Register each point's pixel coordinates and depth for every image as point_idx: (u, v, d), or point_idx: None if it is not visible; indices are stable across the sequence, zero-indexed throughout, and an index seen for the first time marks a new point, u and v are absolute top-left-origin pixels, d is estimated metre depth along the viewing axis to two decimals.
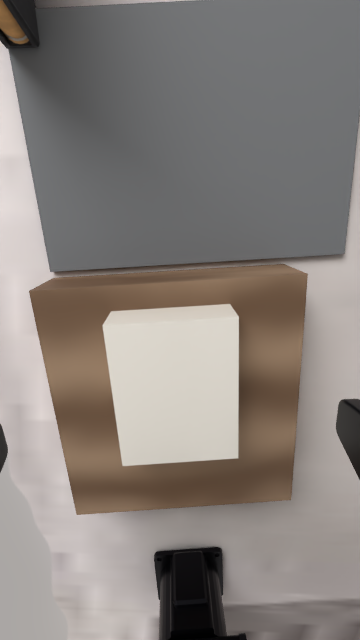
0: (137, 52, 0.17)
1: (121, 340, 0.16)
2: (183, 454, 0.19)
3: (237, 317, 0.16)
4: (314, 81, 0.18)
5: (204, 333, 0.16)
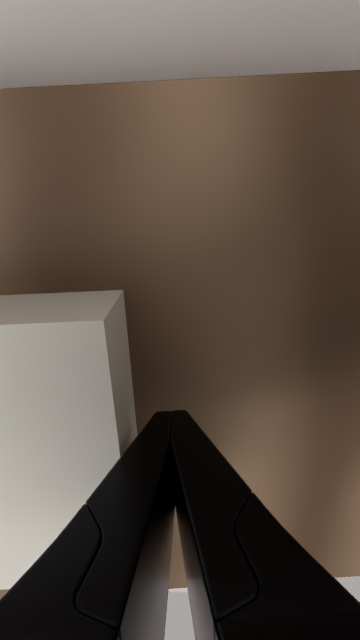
0: None
1: None
2: (95, 466, 0.07)
3: None
4: None
5: None
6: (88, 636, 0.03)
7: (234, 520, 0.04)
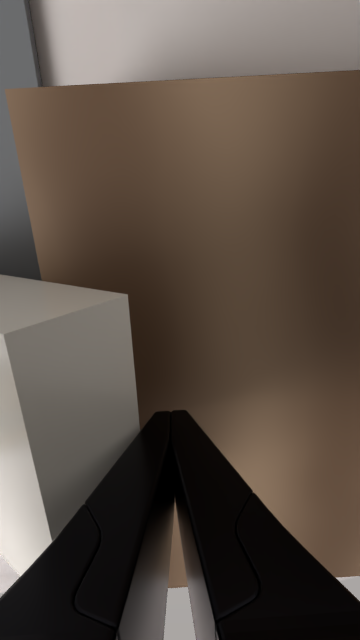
0: None
1: None
2: (26, 494, 0.06)
3: None
4: None
5: None
6: (86, 636, 0.03)
7: (235, 520, 0.04)
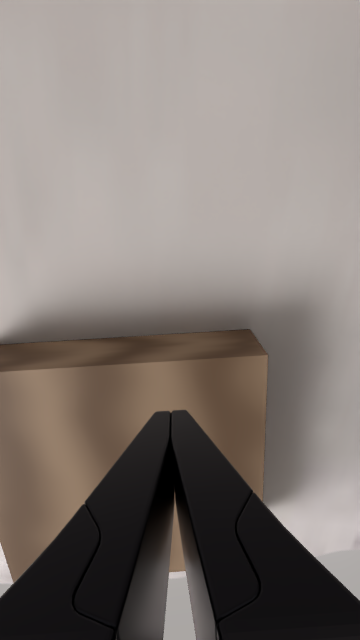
0: None
1: None
2: None
3: None
4: None
5: None
6: (86, 637, 0.03)
7: (235, 520, 0.04)
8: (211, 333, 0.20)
